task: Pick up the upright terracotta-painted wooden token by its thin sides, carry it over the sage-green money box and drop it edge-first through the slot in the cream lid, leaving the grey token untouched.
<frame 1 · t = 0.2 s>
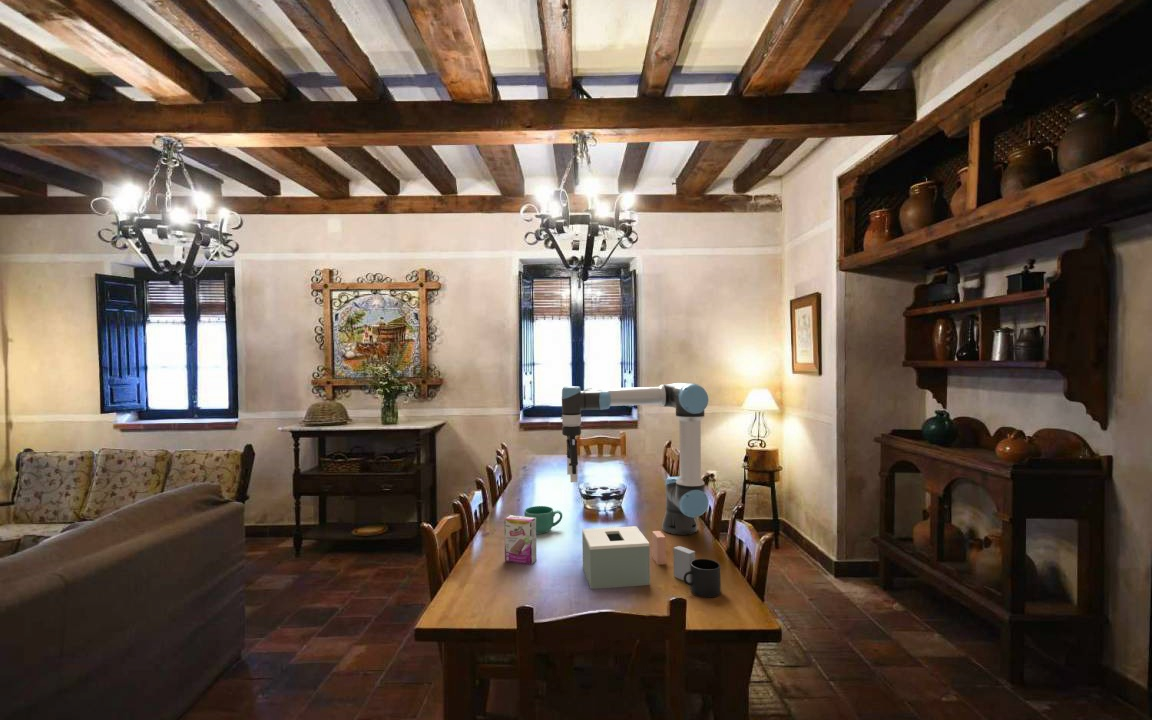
hand: (572, 478, 217), 28 cm above the table, fingers open, 13 cm apart
token: (658, 560, 202), on the table
grey token: (684, 578, 186), on the table
money box: (614, 575, 189), on the table
mug: (701, 592, 175), on the table
candy bar box: (520, 561, 203), on the table
mug 2: (543, 531, 238), on the table
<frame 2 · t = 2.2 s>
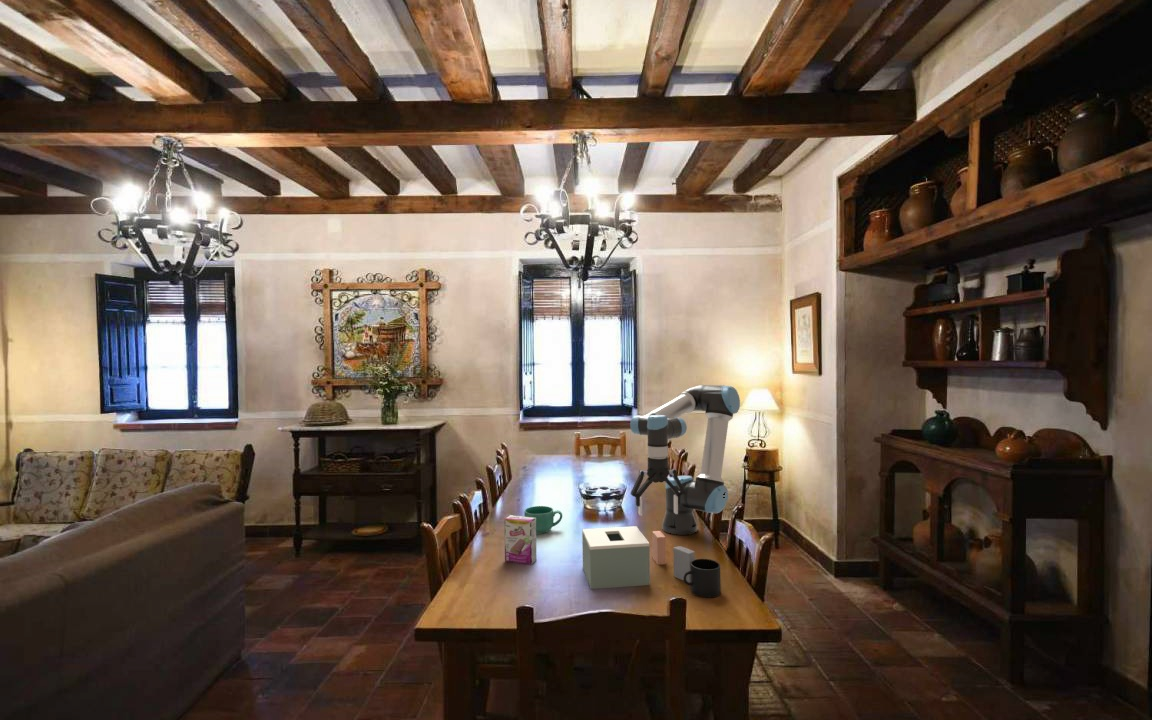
hand: (658, 514, 202), 17 cm above the table, fingers open, 13 cm apart
nothing on the table moved.
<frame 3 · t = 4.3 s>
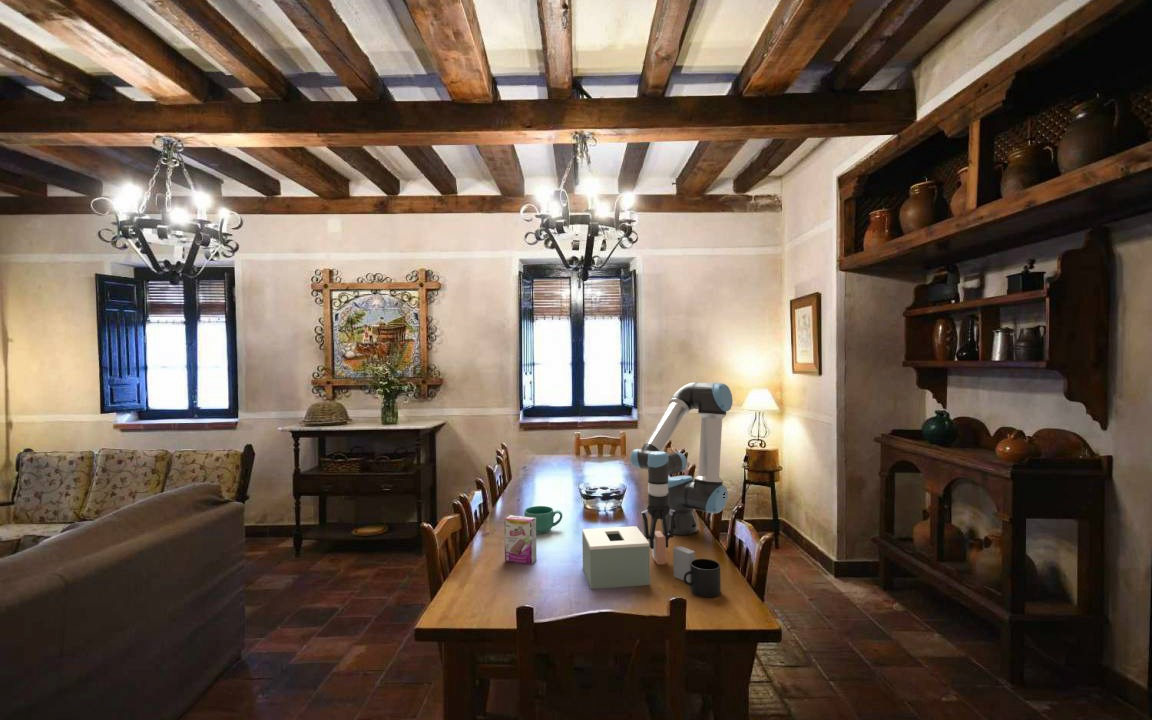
hand: (658, 556, 202), 2 cm above the table, fingers closed on token, 3 cm apart
token: (659, 560, 202), on the table, touching gripper
everything else where it was.
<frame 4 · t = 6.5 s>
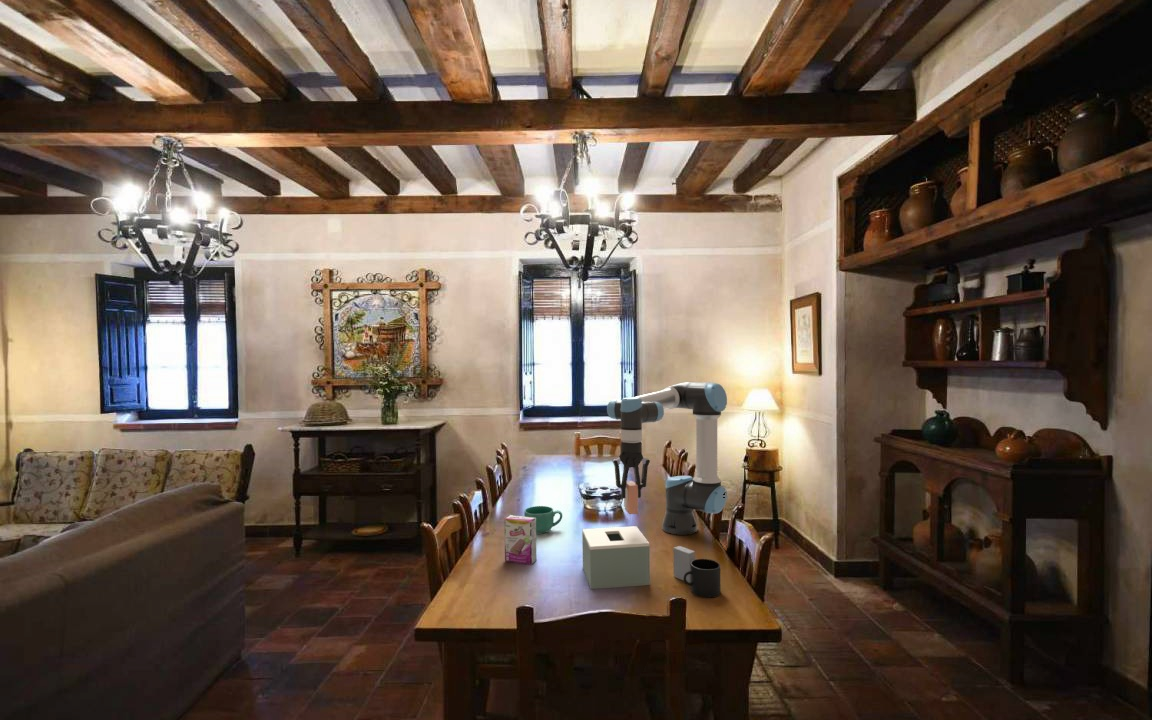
hand: (630, 506, 193), 23 cm above the table, fingers closed on token, 3 cm apart
token: (631, 511, 193), point 21 cm above the table, touching gripper
everything else where it was.
when the fingers open (16 cm above the table, at t = 8.6 s): token drops 13 cm, resting on money box.
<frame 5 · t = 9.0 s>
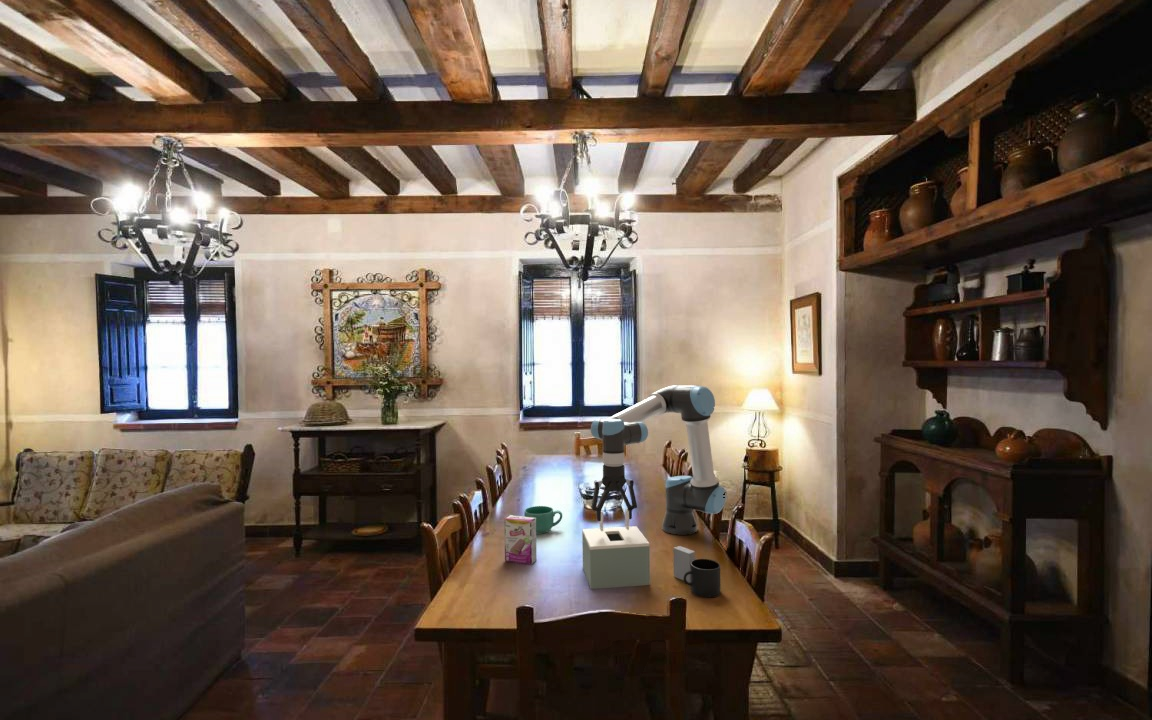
hand: (614, 529, 189), 16 cm above the table, fingers open, 8 cm apart
token: (615, 573, 189), point 1 cm above the table, touching money box
everything else where it was.
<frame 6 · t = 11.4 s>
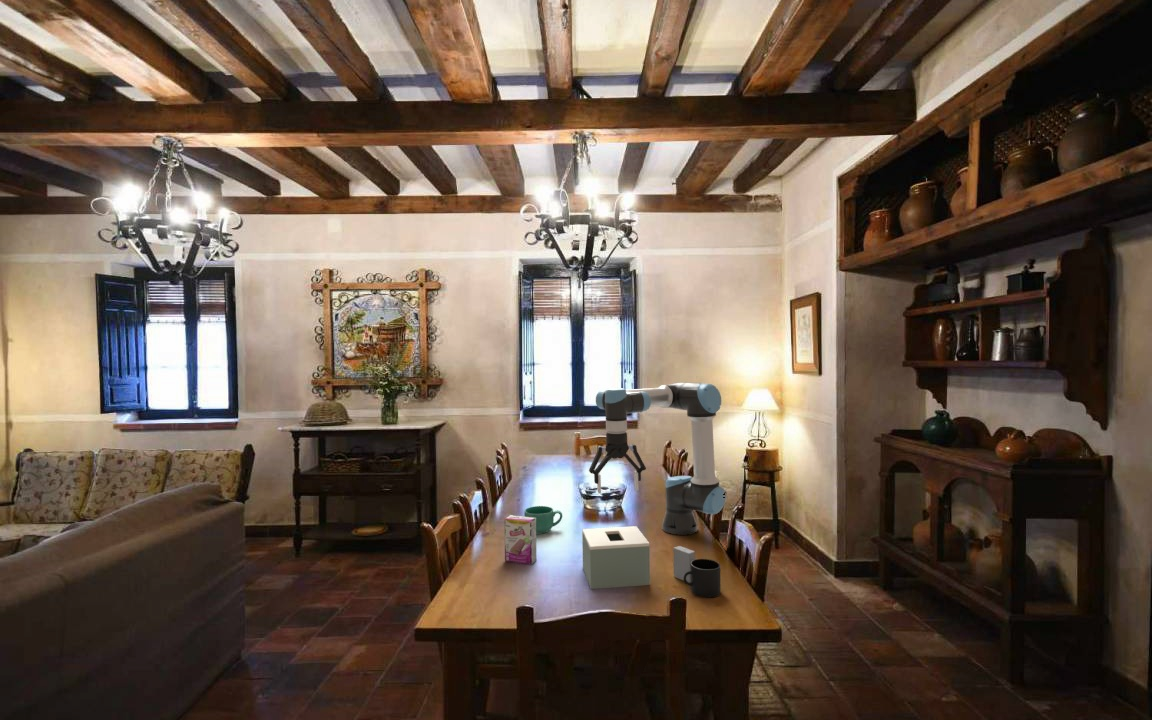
hand: (618, 491, 193), 28 cm above the table, fingers open, 13 cm apart
nothing on the table moved.
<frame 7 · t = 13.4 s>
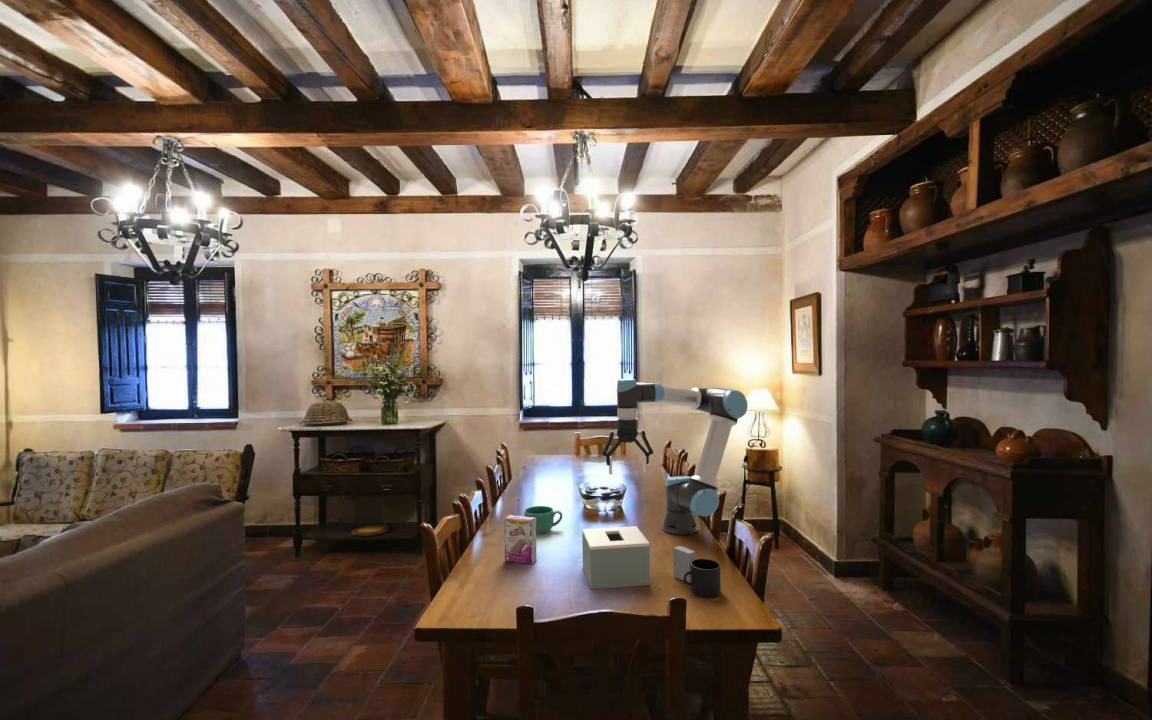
hand: (627, 473, 212), 31 cm above the table, fingers open, 13 cm apart
nothing on the table moved.
at the end: token inside the target area on the money box (0.0 cm from its centre), point 1.0 cm above the money box's base; the gripper is holding nothing; grey token moved 0.0 cm from its start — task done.
